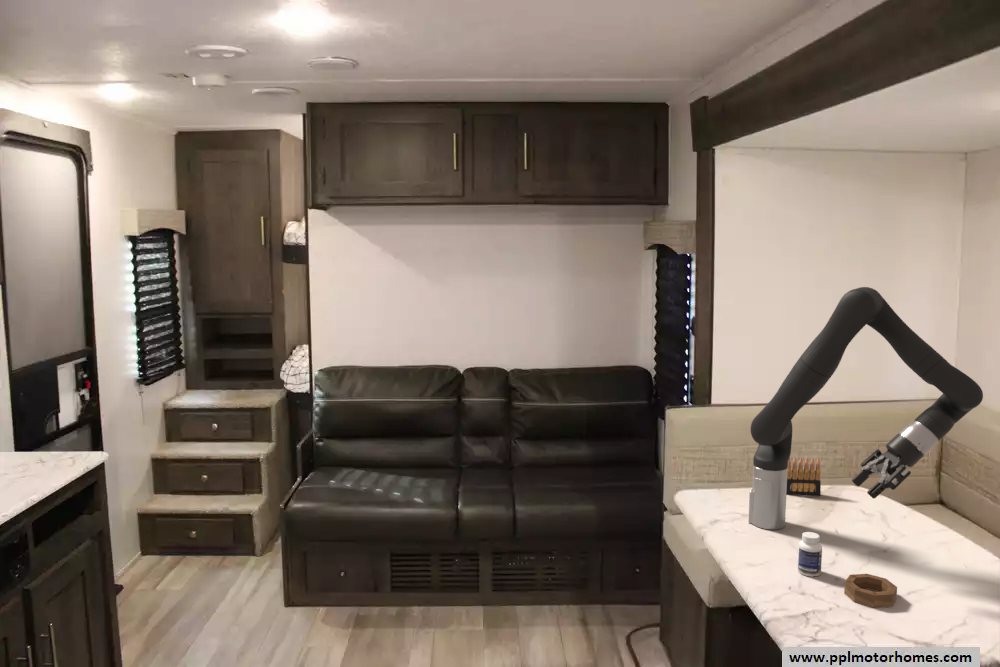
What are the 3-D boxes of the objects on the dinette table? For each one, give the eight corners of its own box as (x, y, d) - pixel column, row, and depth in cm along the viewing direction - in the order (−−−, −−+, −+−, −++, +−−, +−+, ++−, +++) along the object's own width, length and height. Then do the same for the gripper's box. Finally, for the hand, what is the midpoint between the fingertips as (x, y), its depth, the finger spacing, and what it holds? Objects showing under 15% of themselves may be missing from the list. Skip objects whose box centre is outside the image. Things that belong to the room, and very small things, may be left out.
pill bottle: (822, 578, 188) (824, 540, 186) (799, 576, 189) (801, 538, 187) (818, 568, 193) (820, 531, 191) (795, 566, 194) (797, 529, 192)
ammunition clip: (819, 494, 244) (821, 457, 242) (820, 496, 242) (822, 459, 240) (783, 492, 246) (785, 456, 244) (785, 494, 244) (786, 458, 242)
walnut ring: (840, 598, 178) (841, 586, 177) (852, 581, 185) (853, 570, 185) (888, 611, 171) (889, 599, 171) (899, 594, 179) (900, 582, 179)
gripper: (887, 425, 193) (839, 470, 195) (916, 441, 179) (864, 489, 181) (907, 445, 194) (859, 490, 196) (938, 463, 180) (886, 510, 182)
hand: (862, 489), depth 188 cm, fingers open, 8 cm apart
